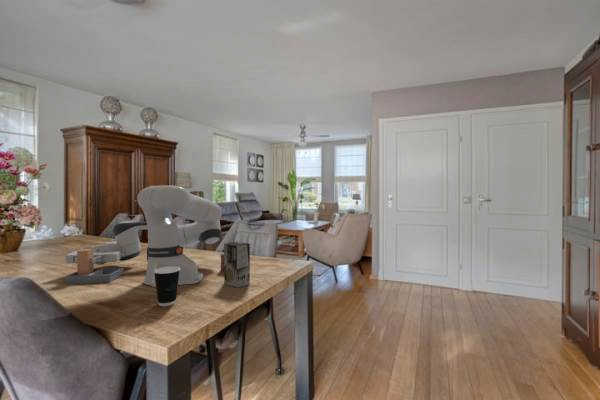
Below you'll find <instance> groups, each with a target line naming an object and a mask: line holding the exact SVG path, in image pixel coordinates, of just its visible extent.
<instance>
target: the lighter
mask: <svg viewBox="0 0 600 400" xmlns="http://www.w3.org/2000/svg"><path fill="white" fill-rule="evenodd" d="M220 272H224V248H223V249H221V254H220Z"/></svg>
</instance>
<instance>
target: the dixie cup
mask: <svg viewBox="0 0 600 400" xmlns="http://www.w3.org/2000/svg"><path fill="white" fill-rule="evenodd" d="M179 270H180V268H179V267H162V268H158V269H155V270H154V271H153V272H154V274H155V282H156V287H155V288H156V289H155V290H156V296H157V303H158V306H160V307H169V306H173V305H174V304H176V300H177V298H178V297H177V294H178V286H179V285H178V279H179Z"/></svg>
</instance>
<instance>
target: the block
mask: <svg viewBox="0 0 600 400" xmlns="http://www.w3.org/2000/svg"><path fill="white" fill-rule="evenodd" d="M76 251H77V263H76V269H77V271H76V272H77V275H89V274H91V273H93V269H94V264H93V263H90V258H93V249H82V250H79V251H78V250H76Z"/></svg>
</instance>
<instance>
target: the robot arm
mask: <svg viewBox="0 0 600 400" xmlns="http://www.w3.org/2000/svg"><path fill="white" fill-rule="evenodd" d="M136 199H137V203H138V205H139V207H140V208H141V209H142V211H143V214H144V218H145V221H130V220H129V221H128V220H126V221H125V220H124V221H121V222H117V223H116V224H115V225H114V227H113V228H112V232H113V236H114V237H115V241H108V242H105V243H102V244H98V245H95V246H89V247H88V246H87V247H81V248H79V250H82V249H93V258H90V263H93V265H98V266H99V265H101V266H102V265H105V264H107V263H115V262H125V261H129V260H132V259H134V258H137V257H138V256H139V255H140V254H141V253H142V245H141V242H140V236H139V233H138V231H140V230H147V239H148V240H147V244H148V245H147V247H146V261H147V266H146V272H145V276H144V280H143V284H145V285H148V286H151V287H153V288H156V282H155V274H154V272H153V271H154V270H155V269H158V268H162V267H179V268H180V270H179V279H178V286H183V285H192V284H193V285H194V284H196V283H200V282H201V281H202V280H203V279H204V274H203V273H202V272H198V265H197V263H196V261H194V260H192V259H191V258H189V256H186V255H185V254H184V247H188V246H191V245H194V244H197V243H200V242H201V243H203V244H206V245H212V244H216V243H218V242H220V240H221V239H222V235H223V232H222V228H221V227H222V226H221V223H220V222H221V218H222V215H223V210H222V208H221V206H220V205H219V204H217V203H216V202H214V201H212V200H210V199H206V198H204V197H201V196H198V195H197V194H193V193H191V192H189V191H188V190H187V189H186V188H184V187H181V186H178V185H173V184H171V185H170V184H169V185H150V186H147V187H145V188H143V189H141V190H140V191H139V192H138V194H137V197H136ZM172 214H173V215H176V216H179V217H181V218H183V219H187V220H192V221H194V222H193V223H187V224H180V225H179V224H178V225H177V223H176V222H175V221H174V219H173V216H172ZM79 250H74V251H71V252H69V253H67V254H66V255H65V263H66V264H77V251H79Z"/></svg>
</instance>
